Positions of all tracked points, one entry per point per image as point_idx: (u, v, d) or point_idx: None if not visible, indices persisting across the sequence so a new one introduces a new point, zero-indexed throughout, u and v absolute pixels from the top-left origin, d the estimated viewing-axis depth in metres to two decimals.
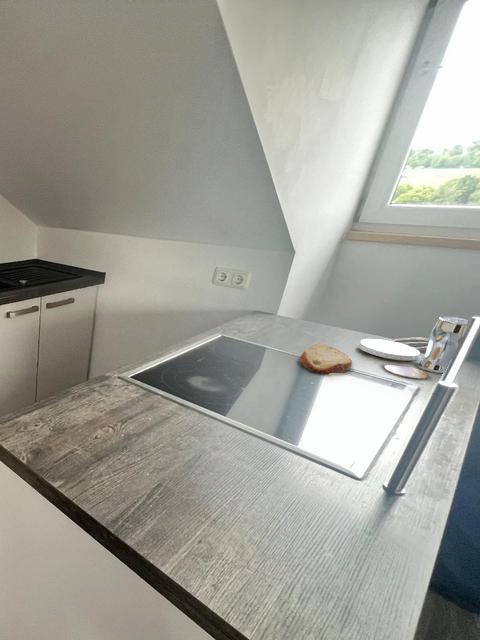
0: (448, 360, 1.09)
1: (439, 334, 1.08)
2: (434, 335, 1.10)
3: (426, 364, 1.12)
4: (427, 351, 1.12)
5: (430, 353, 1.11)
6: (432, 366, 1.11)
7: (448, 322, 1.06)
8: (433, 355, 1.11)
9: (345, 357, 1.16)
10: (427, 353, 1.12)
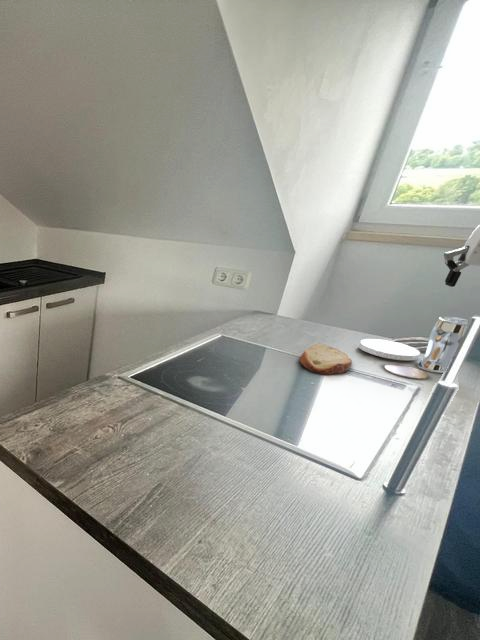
0: (448, 360, 1.09)
1: (439, 334, 1.08)
2: (434, 335, 1.10)
3: (426, 364, 1.12)
4: (427, 351, 1.12)
5: (430, 353, 1.11)
6: (432, 366, 1.11)
7: (448, 322, 1.06)
8: (433, 355, 1.11)
9: (345, 357, 1.16)
10: (427, 353, 1.12)
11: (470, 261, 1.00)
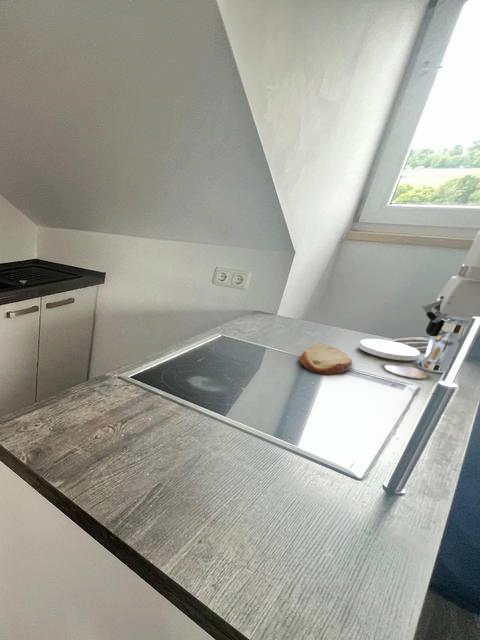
0: (448, 360, 1.09)
1: (439, 334, 1.08)
2: None
3: (426, 364, 1.12)
4: (427, 351, 1.12)
5: (430, 353, 1.11)
6: (432, 366, 1.11)
7: (448, 322, 1.06)
8: (433, 355, 1.11)
9: (345, 357, 1.16)
10: (427, 353, 1.12)
11: (444, 311, 1.06)
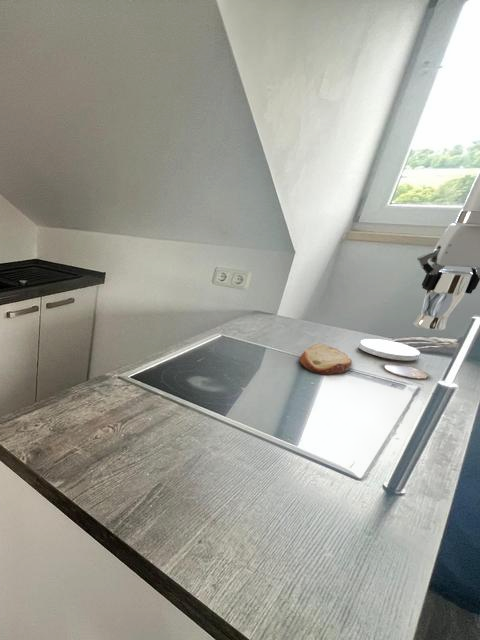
0: (446, 316, 1.02)
1: (436, 287, 1.01)
2: None
3: (422, 321, 1.05)
4: (423, 307, 1.05)
5: (427, 309, 1.04)
6: (429, 323, 1.04)
7: (446, 274, 0.99)
8: (429, 311, 1.03)
9: (345, 357, 1.16)
10: (423, 309, 1.05)
11: (442, 261, 0.99)
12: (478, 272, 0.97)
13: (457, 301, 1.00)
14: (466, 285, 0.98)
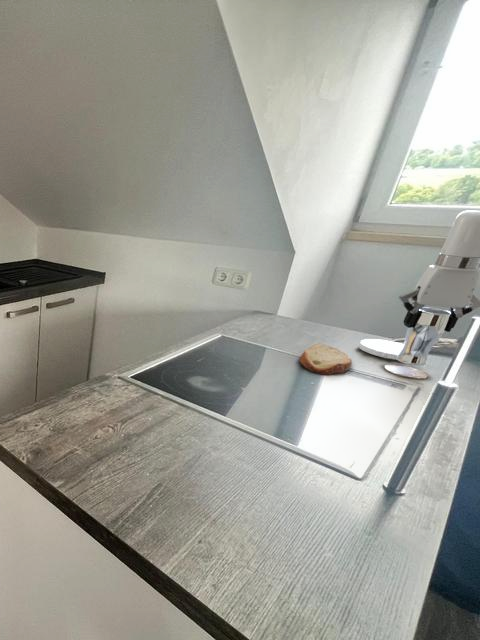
0: (426, 352, 1.06)
1: (416, 325, 1.05)
2: None
3: (404, 356, 1.09)
4: (405, 343, 1.09)
5: (408, 345, 1.08)
6: (410, 358, 1.08)
7: (425, 313, 1.03)
8: (411, 347, 1.08)
9: (345, 357, 1.16)
10: (405, 345, 1.09)
11: (421, 301, 1.03)
12: (456, 312, 1.01)
13: (436, 339, 1.04)
14: (445, 324, 1.02)
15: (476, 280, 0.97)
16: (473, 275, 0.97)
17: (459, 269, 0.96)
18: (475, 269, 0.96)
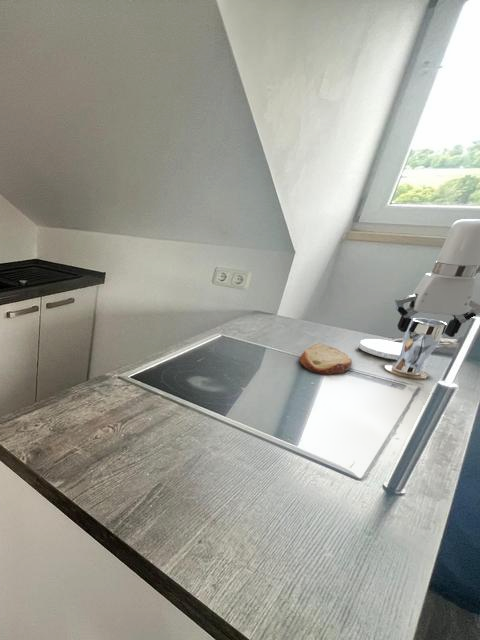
0: (421, 362, 1.07)
1: (412, 335, 1.06)
2: (407, 337, 1.08)
3: (400, 366, 1.10)
4: (401, 353, 1.10)
5: (404, 355, 1.09)
6: (406, 368, 1.09)
7: (421, 323, 1.04)
8: (406, 357, 1.09)
9: (345, 357, 1.16)
10: (401, 355, 1.10)
11: (419, 309, 1.04)
12: (459, 317, 1.01)
13: (432, 349, 1.05)
14: (440, 335, 1.03)
15: (472, 288, 0.98)
16: (469, 283, 0.98)
17: (455, 277, 0.97)
18: (471, 277, 0.97)
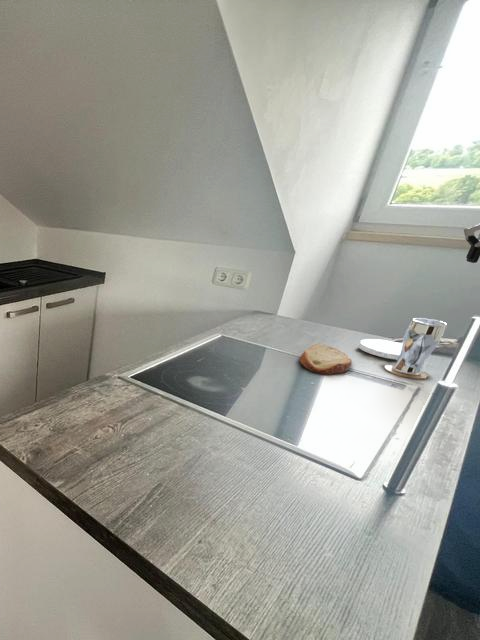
0: (421, 362, 1.07)
1: (412, 335, 1.06)
2: (407, 337, 1.08)
3: (400, 366, 1.10)
4: (401, 353, 1.10)
5: (404, 355, 1.09)
6: (406, 368, 1.09)
7: (421, 323, 1.04)
8: (406, 357, 1.09)
9: (345, 357, 1.16)
10: (401, 355, 1.10)
11: None
12: None
13: (432, 349, 1.05)
14: (440, 335, 1.03)
15: None
16: None
17: None
18: None
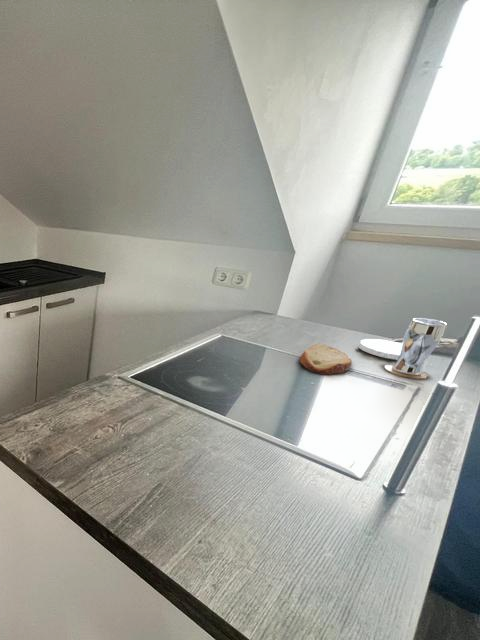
0: (421, 362, 1.07)
1: (412, 335, 1.06)
2: (407, 337, 1.08)
3: (400, 366, 1.10)
4: (401, 353, 1.10)
5: (404, 355, 1.09)
6: (406, 368, 1.09)
7: (421, 323, 1.04)
8: (406, 357, 1.09)
9: (345, 357, 1.16)
10: (401, 355, 1.10)
11: None
12: None
13: (432, 349, 1.05)
14: (440, 335, 1.03)
15: None
16: None
17: None
18: None
